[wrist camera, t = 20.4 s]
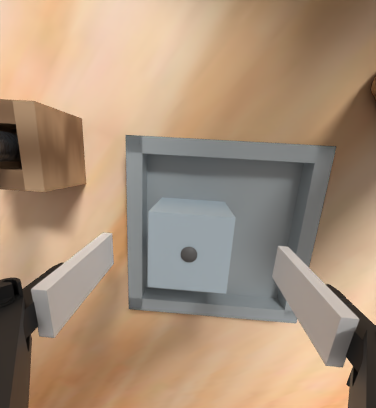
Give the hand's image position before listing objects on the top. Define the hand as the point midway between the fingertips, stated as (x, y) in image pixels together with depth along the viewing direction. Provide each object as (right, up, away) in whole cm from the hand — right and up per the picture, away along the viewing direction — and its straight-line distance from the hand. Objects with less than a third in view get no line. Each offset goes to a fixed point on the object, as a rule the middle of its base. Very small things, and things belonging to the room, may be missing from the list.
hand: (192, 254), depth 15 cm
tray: (+3, +1, +7) cm, 8 cm away
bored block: (-15, +10, +6) cm, 19 cm away
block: (0, +1, +7) cm, 7 cm away
